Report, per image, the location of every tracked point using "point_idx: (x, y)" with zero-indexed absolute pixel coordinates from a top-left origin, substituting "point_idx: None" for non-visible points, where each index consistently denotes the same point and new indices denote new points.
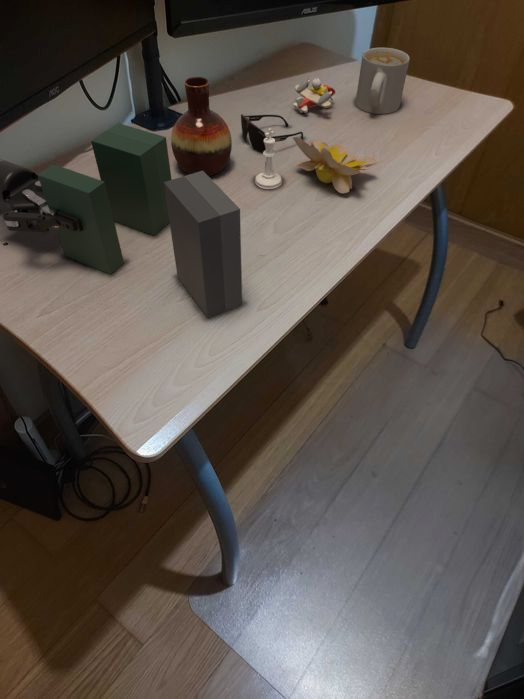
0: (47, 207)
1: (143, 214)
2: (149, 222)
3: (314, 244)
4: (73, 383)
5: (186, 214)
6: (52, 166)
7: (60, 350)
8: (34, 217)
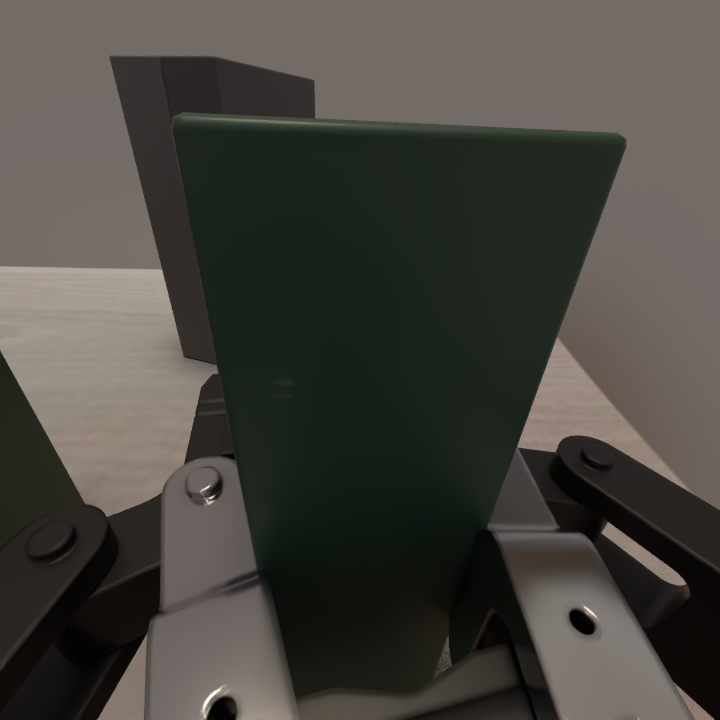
0: (501, 506)
1: (35, 477)
2: (60, 481)
3: (52, 296)
4: (564, 348)
5: (289, 94)
6: (267, 117)
7: (572, 394)
8: (640, 473)
